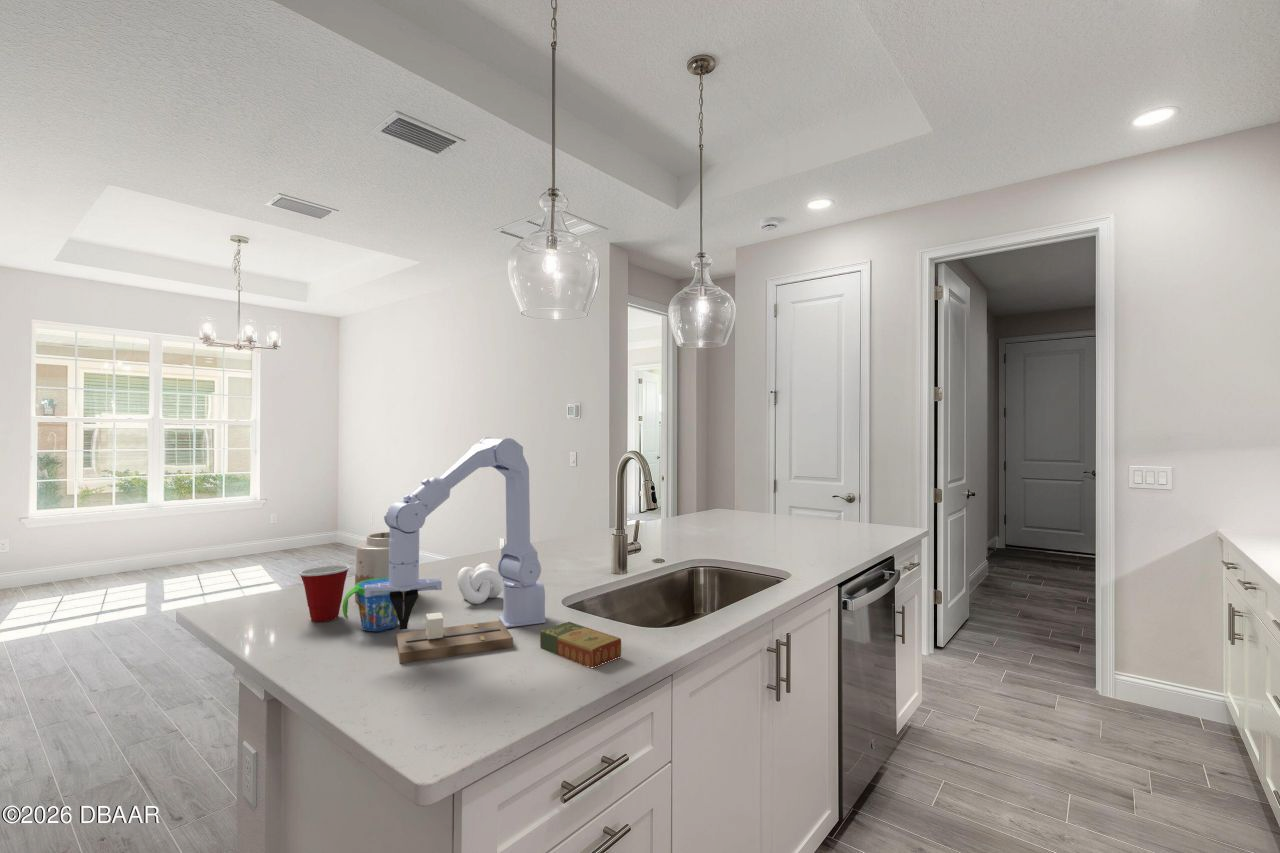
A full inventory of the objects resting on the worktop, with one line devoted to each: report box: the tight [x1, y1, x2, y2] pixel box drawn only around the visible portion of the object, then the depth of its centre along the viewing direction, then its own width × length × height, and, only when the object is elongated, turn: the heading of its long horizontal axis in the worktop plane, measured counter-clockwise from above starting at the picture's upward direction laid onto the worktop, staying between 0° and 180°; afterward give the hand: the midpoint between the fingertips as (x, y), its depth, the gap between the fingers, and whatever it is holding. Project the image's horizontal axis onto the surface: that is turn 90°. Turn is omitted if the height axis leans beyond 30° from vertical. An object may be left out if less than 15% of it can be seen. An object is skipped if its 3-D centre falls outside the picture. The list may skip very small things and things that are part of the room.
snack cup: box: [342, 578, 417, 632], centre depth 138 cm, size 16×10×10 cm
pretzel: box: [456, 562, 504, 605], centre depth 160 cm, size 11×12×9 cm
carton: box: [539, 621, 622, 668], centre depth 124 cm, size 8×16×4 cm, turn 48°
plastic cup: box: [298, 564, 350, 623], centre depth 144 cm, size 11×11×12 cm
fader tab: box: [425, 612, 444, 639], centre depth 125 cm, size 3×4×4 cm
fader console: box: [396, 620, 514, 664], centre depth 127 cm, size 22×12×2 cm, turn 114°
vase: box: [354, 531, 404, 604], centre depth 161 cm, size 15×15×17 cm
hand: (403, 628), depth 123 cm, fingers closed
